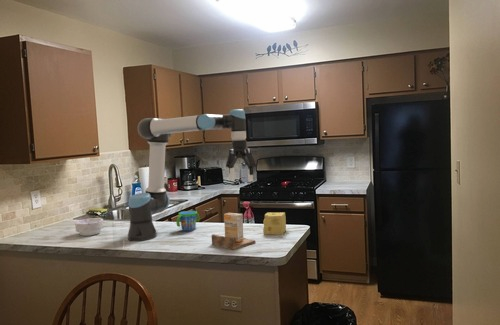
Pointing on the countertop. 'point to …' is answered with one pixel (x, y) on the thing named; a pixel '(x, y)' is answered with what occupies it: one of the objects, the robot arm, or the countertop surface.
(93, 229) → the paper bowls
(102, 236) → the countertop surface
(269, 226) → the cheese
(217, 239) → the mounting block
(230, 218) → the supplement box
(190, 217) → the snack cup
